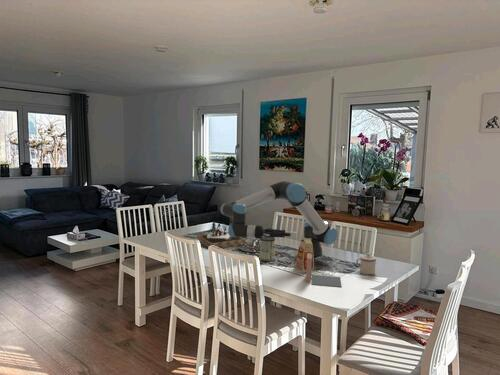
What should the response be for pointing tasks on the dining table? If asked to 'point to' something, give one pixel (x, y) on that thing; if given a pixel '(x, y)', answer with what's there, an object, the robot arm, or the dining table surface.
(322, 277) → the mat
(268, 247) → the coffee can
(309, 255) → the tile
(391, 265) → the dining table surface
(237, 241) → the diorama tray
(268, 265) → the dining table surface
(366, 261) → the teacup with lid
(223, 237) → the miniature diorama
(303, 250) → the milk carton
